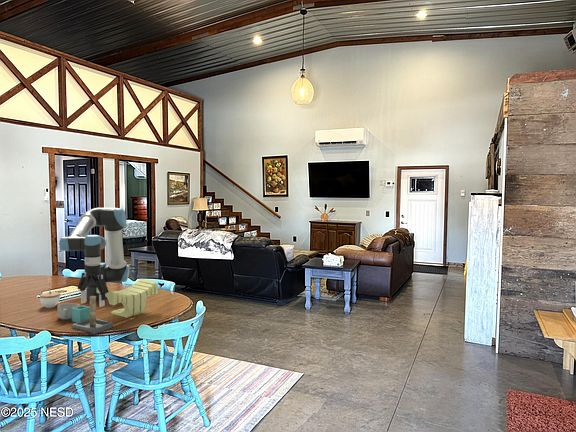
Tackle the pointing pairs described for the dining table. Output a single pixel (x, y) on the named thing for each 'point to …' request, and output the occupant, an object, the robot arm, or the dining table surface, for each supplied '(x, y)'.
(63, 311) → the teacup
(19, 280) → the dining table surface
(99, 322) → the tray
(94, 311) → the dowel
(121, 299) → the slatted curved stool
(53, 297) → the lidded jar
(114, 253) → the robot arm
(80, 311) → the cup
